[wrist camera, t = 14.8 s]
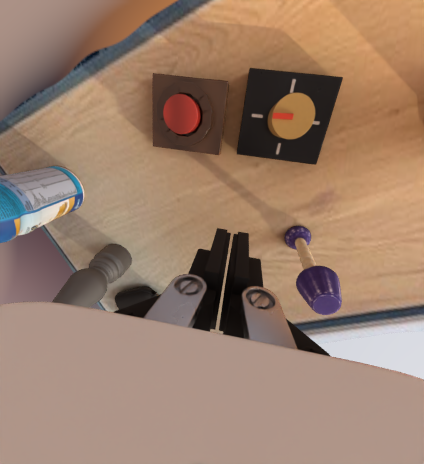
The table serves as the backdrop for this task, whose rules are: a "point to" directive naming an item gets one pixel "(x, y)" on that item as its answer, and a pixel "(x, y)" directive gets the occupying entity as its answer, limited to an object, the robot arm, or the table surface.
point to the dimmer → (266, 96)
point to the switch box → (211, 107)
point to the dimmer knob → (291, 116)
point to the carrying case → (134, 296)
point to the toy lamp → (314, 275)
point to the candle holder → (95, 277)
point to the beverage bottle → (36, 199)
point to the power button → (181, 114)
